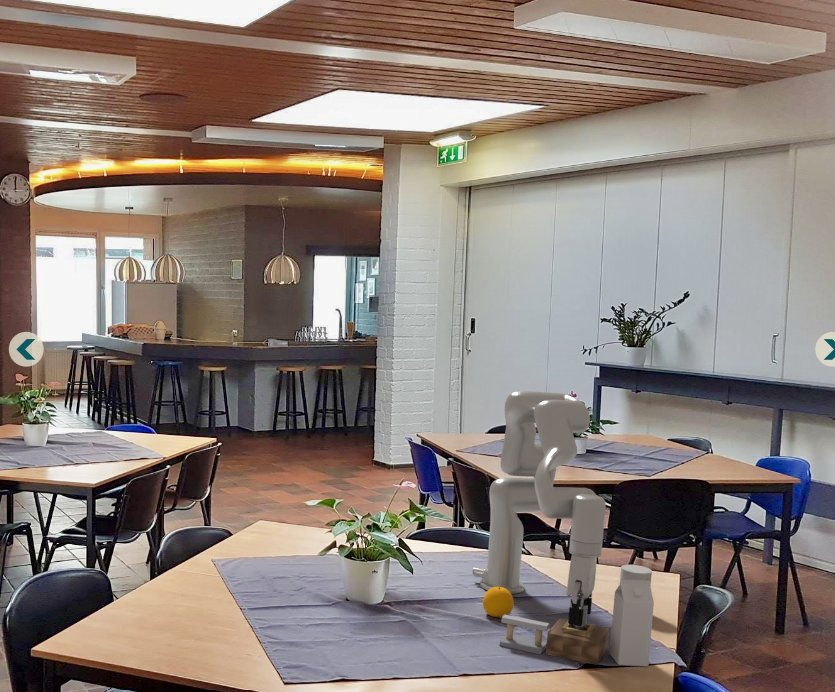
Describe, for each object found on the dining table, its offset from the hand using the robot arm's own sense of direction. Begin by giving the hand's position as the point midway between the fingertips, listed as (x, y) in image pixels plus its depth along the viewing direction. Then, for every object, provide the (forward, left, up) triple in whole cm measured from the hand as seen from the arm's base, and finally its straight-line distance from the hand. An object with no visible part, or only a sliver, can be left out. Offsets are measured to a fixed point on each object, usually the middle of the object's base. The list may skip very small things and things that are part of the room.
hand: (579, 618), depth 223 cm
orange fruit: (-24, +14, -8) cm, 29 cm away
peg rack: (-12, -4, -8) cm, 15 cm away
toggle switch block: (0, 0, -8) cm, 8 cm away
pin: (0, 0, -7) cm, 7 cm away
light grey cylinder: (+7, +38, -8) cm, 39 cm away
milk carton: (+12, +1, -8) cm, 14 cm away
